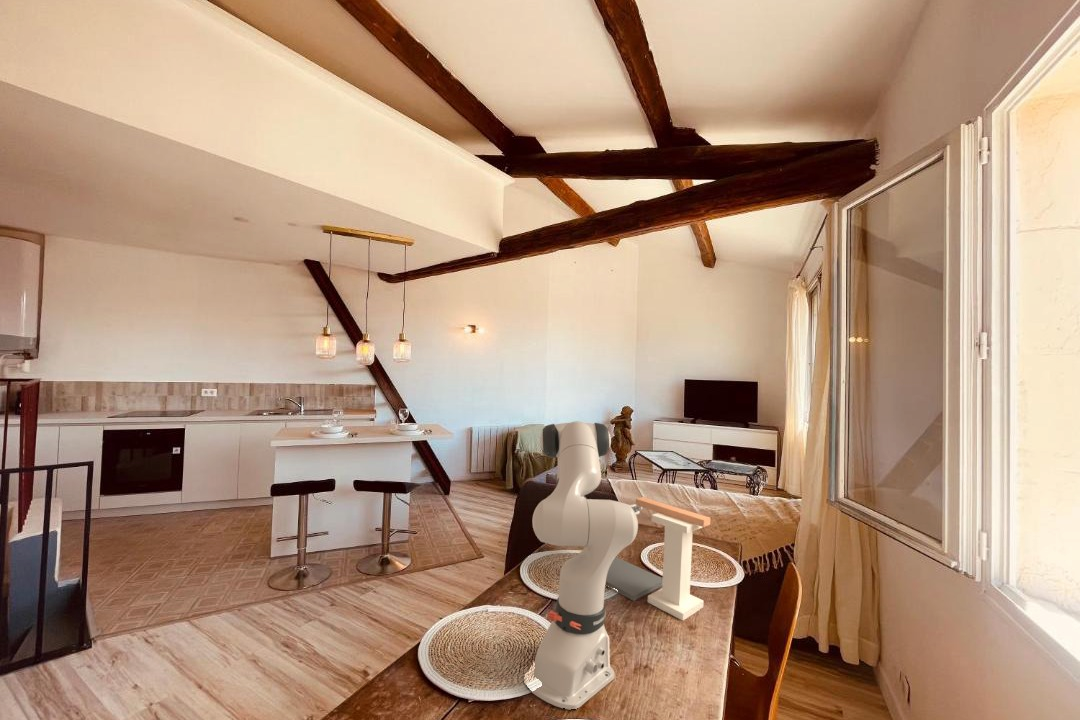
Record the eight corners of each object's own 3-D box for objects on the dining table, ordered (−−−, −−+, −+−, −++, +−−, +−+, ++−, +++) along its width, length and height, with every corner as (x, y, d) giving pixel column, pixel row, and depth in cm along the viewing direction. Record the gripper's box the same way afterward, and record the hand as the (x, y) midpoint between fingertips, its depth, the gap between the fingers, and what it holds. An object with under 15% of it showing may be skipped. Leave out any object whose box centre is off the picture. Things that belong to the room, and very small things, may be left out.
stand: (647, 602, 132) (651, 514, 132) (668, 590, 140) (672, 508, 140) (682, 620, 123) (687, 526, 123) (703, 607, 131) (707, 519, 131)
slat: (635, 504, 142) (635, 498, 142) (642, 502, 144) (642, 496, 144) (703, 527, 124) (703, 520, 124) (710, 524, 126) (710, 517, 126)
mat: (573, 568, 151) (573, 564, 151) (606, 556, 163) (606, 552, 163) (633, 601, 132) (633, 596, 132) (665, 584, 144) (665, 579, 144)
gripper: (581, 515, 148) (609, 504, 139) (618, 506, 161) (646, 495, 153) (587, 534, 145) (616, 524, 137) (624, 523, 159) (652, 513, 150)
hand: (632, 509), depth 145 cm, fingers open, 8 cm apart
